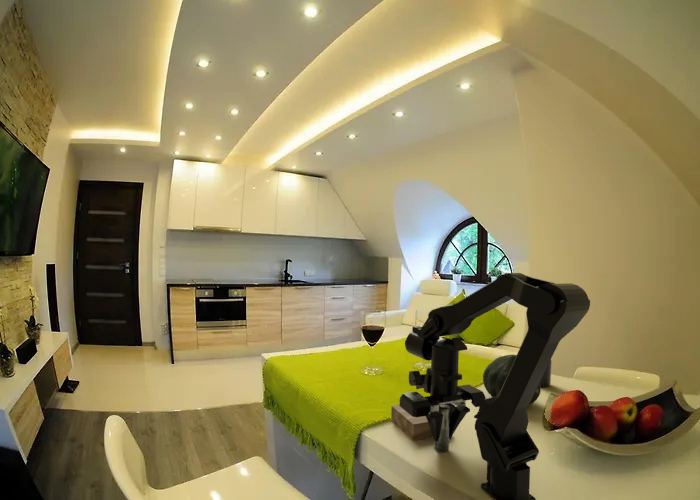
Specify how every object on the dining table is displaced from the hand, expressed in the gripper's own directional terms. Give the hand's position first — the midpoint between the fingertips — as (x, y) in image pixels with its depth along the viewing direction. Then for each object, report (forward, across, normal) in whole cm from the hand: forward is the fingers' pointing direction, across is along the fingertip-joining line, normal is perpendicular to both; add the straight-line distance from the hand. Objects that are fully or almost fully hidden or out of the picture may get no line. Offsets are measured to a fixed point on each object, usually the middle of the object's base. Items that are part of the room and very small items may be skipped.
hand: (441, 439), depth 76 cm
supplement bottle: (+2, -56, -22) cm, 60 cm away
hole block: (+2, -1, -10) cm, 10 cm away
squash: (+2, -35, -14) cm, 38 cm away
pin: (+2, 0, 0) cm, 2 cm away
